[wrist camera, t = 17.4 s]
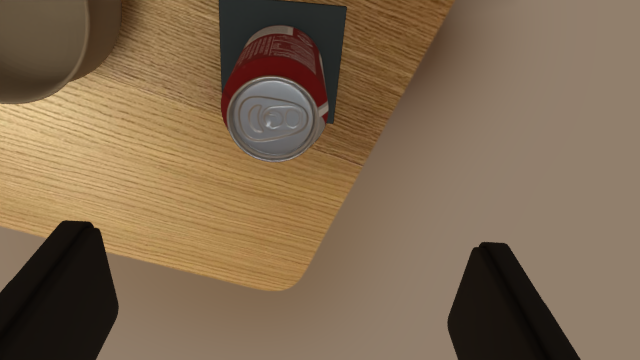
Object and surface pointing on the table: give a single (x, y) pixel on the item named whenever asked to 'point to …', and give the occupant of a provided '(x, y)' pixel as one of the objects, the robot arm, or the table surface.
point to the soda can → (276, 95)
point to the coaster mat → (269, 9)
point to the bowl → (52, 44)
